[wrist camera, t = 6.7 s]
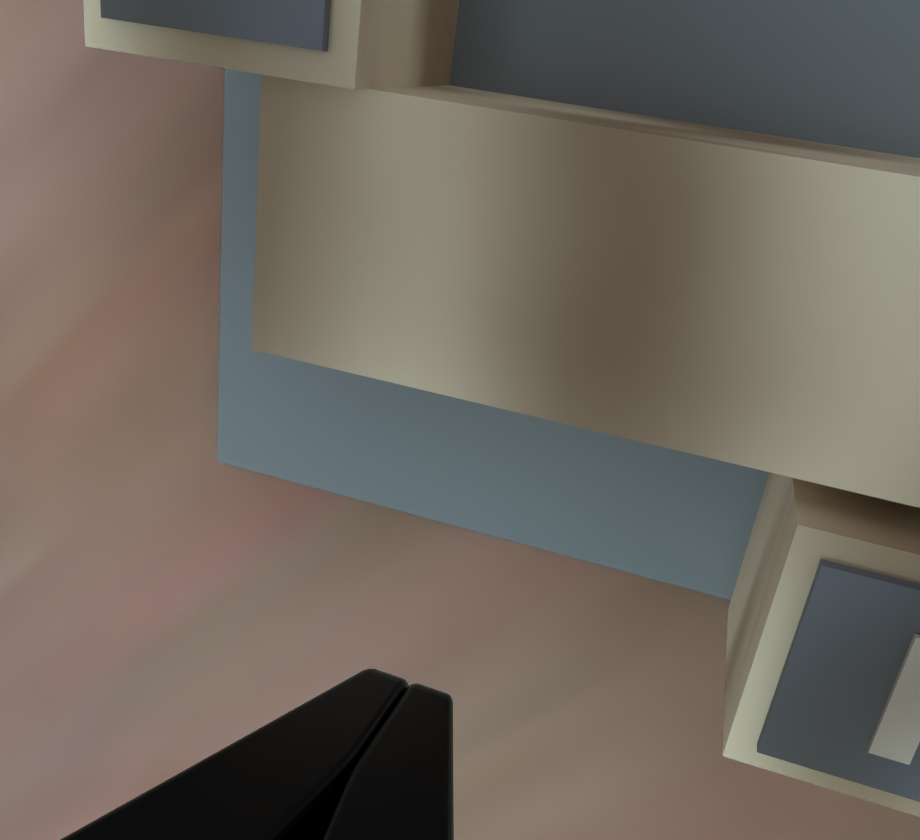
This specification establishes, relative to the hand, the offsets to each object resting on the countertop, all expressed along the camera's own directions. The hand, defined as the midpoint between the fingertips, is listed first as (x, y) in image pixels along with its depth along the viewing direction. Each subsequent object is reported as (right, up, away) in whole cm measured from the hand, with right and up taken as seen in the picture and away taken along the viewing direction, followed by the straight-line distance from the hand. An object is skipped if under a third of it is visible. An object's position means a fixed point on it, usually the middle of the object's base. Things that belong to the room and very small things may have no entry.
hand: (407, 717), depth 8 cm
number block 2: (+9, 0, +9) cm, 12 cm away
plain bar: (+4, +6, +8) cm, 11 cm away
